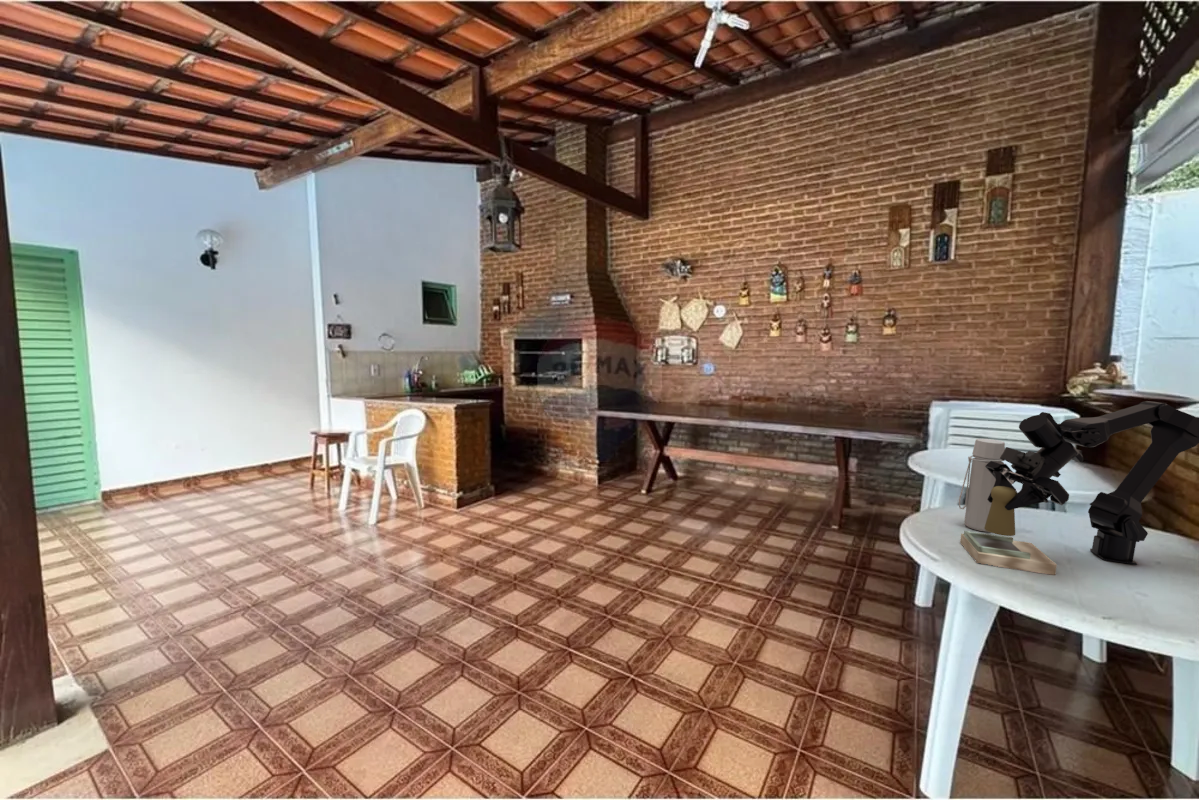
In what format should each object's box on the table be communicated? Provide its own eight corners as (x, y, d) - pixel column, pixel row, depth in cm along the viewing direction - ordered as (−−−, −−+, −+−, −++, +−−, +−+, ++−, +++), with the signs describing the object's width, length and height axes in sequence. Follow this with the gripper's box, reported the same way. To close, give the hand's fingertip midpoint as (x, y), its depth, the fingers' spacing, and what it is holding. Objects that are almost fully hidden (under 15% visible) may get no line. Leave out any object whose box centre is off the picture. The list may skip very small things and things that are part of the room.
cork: (1018, 537, 122) (1024, 492, 120) (986, 532, 124) (992, 488, 123) (1012, 529, 127) (1017, 486, 125) (982, 524, 130) (987, 482, 128)
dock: (1029, 552, 130) (1032, 538, 129) (1055, 575, 118) (1057, 559, 117) (960, 542, 135) (961, 529, 134) (977, 563, 122) (979, 548, 122)
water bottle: (989, 525, 148) (1000, 439, 144) (1000, 534, 140) (1012, 445, 137) (951, 520, 151) (962, 436, 147) (960, 529, 143) (971, 441, 140)
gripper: (996, 429, 132) (949, 471, 133) (1064, 446, 113) (1008, 494, 114) (1023, 459, 133) (976, 500, 134) (1093, 481, 115) (1038, 528, 116)
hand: (997, 504), depth 125 cm, fingers closed on cork, 5 cm apart
